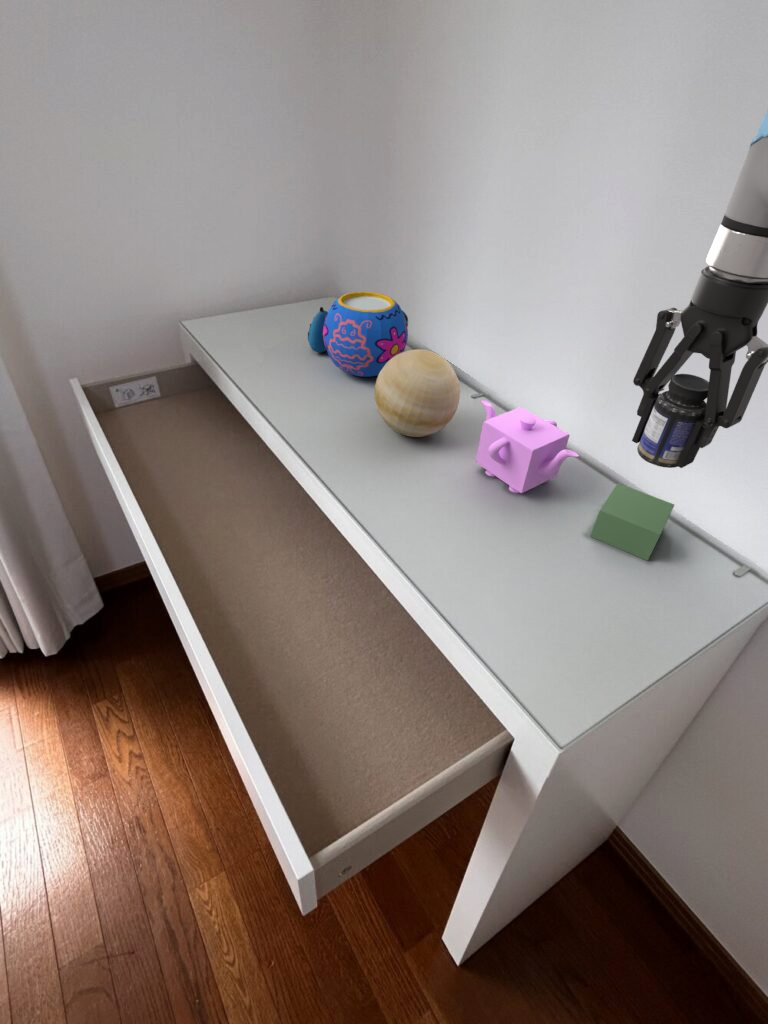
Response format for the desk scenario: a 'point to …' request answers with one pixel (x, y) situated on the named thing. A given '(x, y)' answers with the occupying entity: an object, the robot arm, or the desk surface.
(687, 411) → the pill bottle
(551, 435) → the teapot
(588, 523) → the desk surface
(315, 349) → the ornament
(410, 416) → the decorative ball
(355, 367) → the ceramic pot
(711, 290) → the robot arm
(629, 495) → the block
